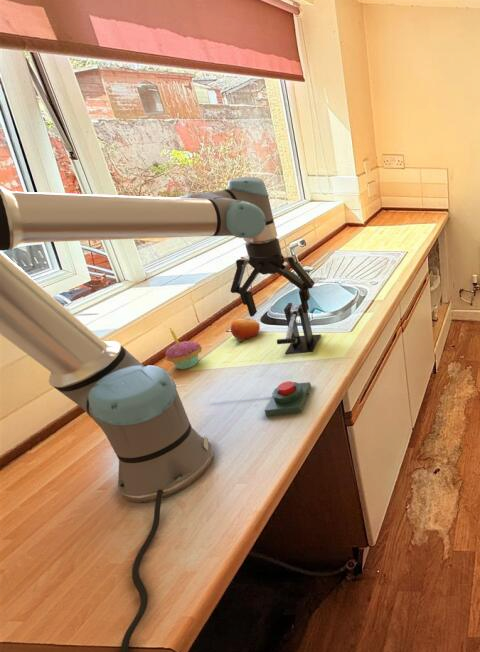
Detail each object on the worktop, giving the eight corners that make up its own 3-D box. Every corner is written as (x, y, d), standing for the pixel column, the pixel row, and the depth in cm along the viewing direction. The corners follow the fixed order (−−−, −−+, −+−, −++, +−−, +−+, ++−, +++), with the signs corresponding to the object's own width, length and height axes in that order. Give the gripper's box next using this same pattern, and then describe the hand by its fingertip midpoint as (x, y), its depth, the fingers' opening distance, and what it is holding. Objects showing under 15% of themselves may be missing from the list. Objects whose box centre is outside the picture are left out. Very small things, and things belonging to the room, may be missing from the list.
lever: (297, 344, 116) (294, 339, 114) (278, 346, 115) (275, 341, 113) (306, 309, 126) (304, 304, 124) (289, 310, 125) (287, 305, 123)
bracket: (313, 353, 125) (304, 312, 119) (285, 356, 124) (275, 313, 118) (321, 337, 134) (312, 297, 128) (295, 339, 133) (286, 299, 127)
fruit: (221, 338, 130) (228, 314, 130) (245, 339, 137) (252, 317, 137) (235, 344, 126) (243, 320, 127) (259, 345, 134) (267, 322, 134)
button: (292, 394, 102) (291, 389, 101) (277, 396, 101) (275, 390, 100) (296, 385, 105) (295, 380, 104) (282, 387, 104) (280, 381, 104)
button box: (301, 413, 101) (297, 401, 99) (266, 417, 99) (262, 404, 98) (311, 388, 110) (308, 376, 108) (280, 391, 108) (276, 379, 107)
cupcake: (163, 369, 117) (148, 333, 112) (192, 354, 124) (180, 320, 119) (183, 375, 114) (169, 339, 109) (212, 359, 121) (200, 325, 116)
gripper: (316, 233, 108) (330, 303, 117) (214, 237, 104) (236, 309, 113) (309, 241, 101) (324, 315, 110) (199, 246, 97) (224, 322, 106)
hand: (280, 312), depth 111 cm, fingers open, 13 cm apart
